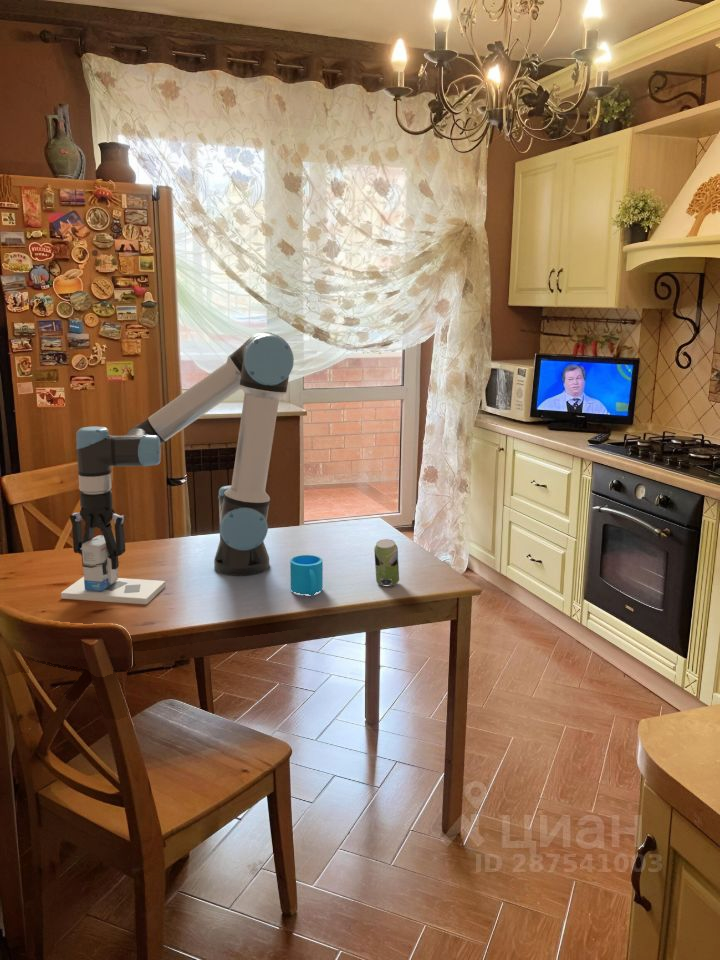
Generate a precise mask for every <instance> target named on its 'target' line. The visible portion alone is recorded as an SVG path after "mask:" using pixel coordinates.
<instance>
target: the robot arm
mask: <svg viewBox="0 0 720 960" xmlns="http://www.w3.org/2000/svg"><path fill="white" fill-rule="evenodd" d="M294 363H295V361H294V354H293V351H292V347H291V346H290V345H289V343H288V342H287V341H286V340H285V339H284V338H282V337H281V336H279V335H277V334H275V333H272V332H268V331H267V332H265V331H264V332H259V333H255V334H253V335H252V336H251V335H250V336H249V338H247V340H246V341H245V342H243V343H242V345H240V347H238V348H237V349H236V350H234V352H232V353H230V355H228V356H227V361H226V362H225V363H223V364H222V365H221V366H219V367H218V368H216V369H215V370H214V371H212V372H211V373H209V374H208V375H207V376H205V377H204V378H203V379H201V380H200V381H198V382H197V383H195V384H194V385H192V386H191V387H190V388H188V389H187V390H185V391H184V392H183V393H181V394H179V395H178V396H177V397H175V398H174V399H173V400H171V401H170V402H169V403H167V404H166V405H164V406H163V407H161V408H160V409H159V410H157V411H156V412H154V413H153V414H151V415H150V416H149V417H148V418H146V419H145V420H143V421H141V422H140V423H139V424H136V425H134V426H132V427H131V428H129V430H127V433H126V435H110V432H109V428H107V427H105V426H97V425H95V426H86V427H80V428H79V429H78V430H77V431H76V435H75V436H76V439H75V441H76V447H75V449H76V460H77V472H78V490H79V491H80V492H79V503H80V507H81V508H80V510H79V512H74V513H72V514H70V515H69V520H70V523H71V528H72V545H73V552H74V553H75V554H79V555H80V556H81V561H82V567H83V556H82V545H83V543H85V542H87V541H89V540H91V539H93V538H94V533H95V529H96V528H97V529H100V533H102V536H104V539H105V542H106V545H107V548H108V551H109V554H110V556H109V557H108V558H107V565H108V582H109V583H112V582H113V581H115V580H116V569H117V570H118V568H119V557H120V556H122V555H123V554H124V553H126V542H125V541H126V540H125V539H126V537H125V526H124V525H125V520H126V515H124V514H122V515H120V514H117V513H115V510H114V509H113V504H114V502H113V491H112V490H111V489H112V487H113V486H112V485H113V484H112V470H111V469H112V468H111V467H144V468H145V467H148V466H151V467H152V466H157V465H159V464H160V463H161V457H162V447H161V446H162V445H163V444H164V443H165V442H167V441H168V440H169V439H171V438H172V437H174V436H175V435H176V434H178V433H179V432H181V431H182V430H184V429H185V428H187V427H188V426H190V424H191V425H192V423H194V422H196V421H197V420H198V419H200V418H201V417H202V416H204V415H205V414H206V413H208V412H210V411H211V410H213V409H214V408H215V407H216V406H218V405H219V404H221V403H222V402H224V401H225V400H227V399H228V398H230V397H231V396H232V395H234V394H235V393H237V392H238V391H239V390H242V391H243V393H244V395H243V402H242V411H241V416H240V424H239V430H238V437H237V438H238V439H237V443H236V444H237V445H236V453H235V460H234V466H233V472H232V479H231V485H223V486H221V487H220V488H219V490H218V496H217V499H218V510H219V513H218V514H219V516H218V517H219V542H218V546H217V550H216V552H215V555H214V559H213V562H214V563H213V564H214V567H213V568H214V570H215V571H217V572H218V573H221V574H224V575H228V576H251V575H256V574H259V572H260V573H262V572H264V570H265V571H266V570H268V569H269V568H268V567H270V556H269V553H268V550H267V547H266V544H265V539H266V536H267V535H268V531H269V524H268V514H269V507H270V502H271V497H270V496H269V494H268V493H267V490H266V489H267V488H266V487H267V482H268V475H269V469H270V461H271V455H272V447H273V443H274V436H275V428H276V422H277V415H278V410H279V409H278V408H279V402H280V399H281V398H282V397H283V396H285V395H286V394H287V390H288V385H289V378H290V374H291V373H292V370H293V368H294ZM82 519H83V521H84V522H85V525H84V533H83V526H82V523H83V522H82ZM112 520H113V524H114V533H113V530H112V529H113V528H112V523H111V521H112ZM83 534H84V535H83ZM114 534H115V536H114ZM114 537H115V538H116V542H115V539H114ZM267 568H268V569H267ZM250 574H251V575H250Z"/></svg>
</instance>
